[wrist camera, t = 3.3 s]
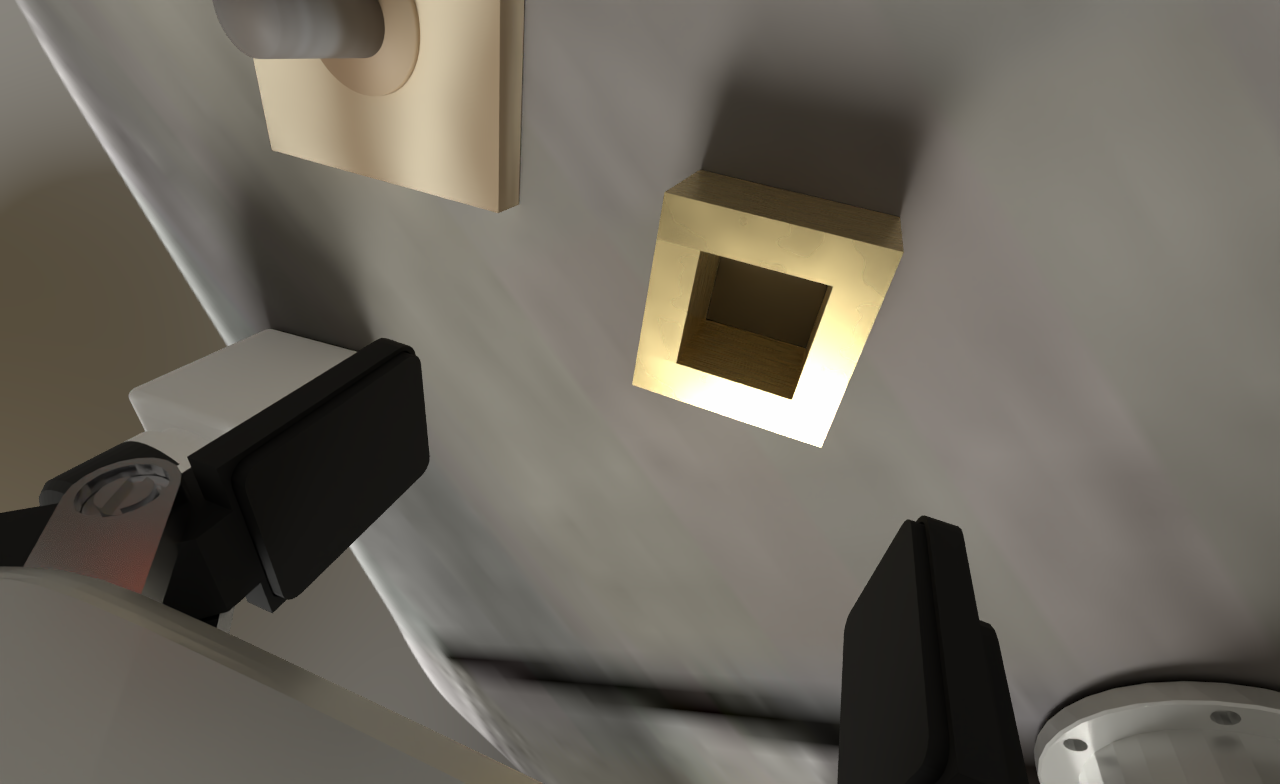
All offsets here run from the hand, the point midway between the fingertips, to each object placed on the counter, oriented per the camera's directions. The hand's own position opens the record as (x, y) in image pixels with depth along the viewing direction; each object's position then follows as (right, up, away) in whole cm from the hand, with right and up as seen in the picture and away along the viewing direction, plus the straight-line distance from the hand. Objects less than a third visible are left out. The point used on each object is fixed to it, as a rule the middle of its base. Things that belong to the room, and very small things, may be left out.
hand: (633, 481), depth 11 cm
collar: (+5, +6, +10) cm, 13 cm away
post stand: (-9, +15, +10) cm, 21 cm away
